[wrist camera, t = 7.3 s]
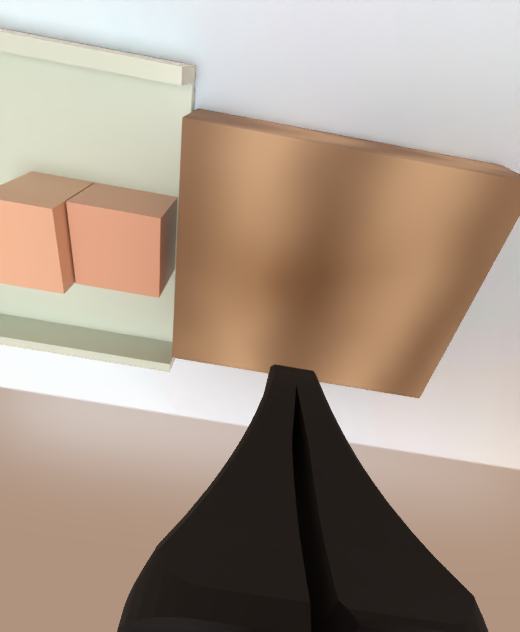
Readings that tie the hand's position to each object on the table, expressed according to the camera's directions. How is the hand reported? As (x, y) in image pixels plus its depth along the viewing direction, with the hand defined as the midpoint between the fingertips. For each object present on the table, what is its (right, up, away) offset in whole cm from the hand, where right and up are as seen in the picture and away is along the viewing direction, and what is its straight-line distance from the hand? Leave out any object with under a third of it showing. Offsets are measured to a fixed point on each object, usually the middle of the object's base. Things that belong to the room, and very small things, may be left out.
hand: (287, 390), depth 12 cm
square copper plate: (+2, +5, +9) cm, 11 cm away
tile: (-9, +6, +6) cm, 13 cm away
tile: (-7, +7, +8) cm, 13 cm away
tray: (-11, +8, +8) cm, 16 cm away
